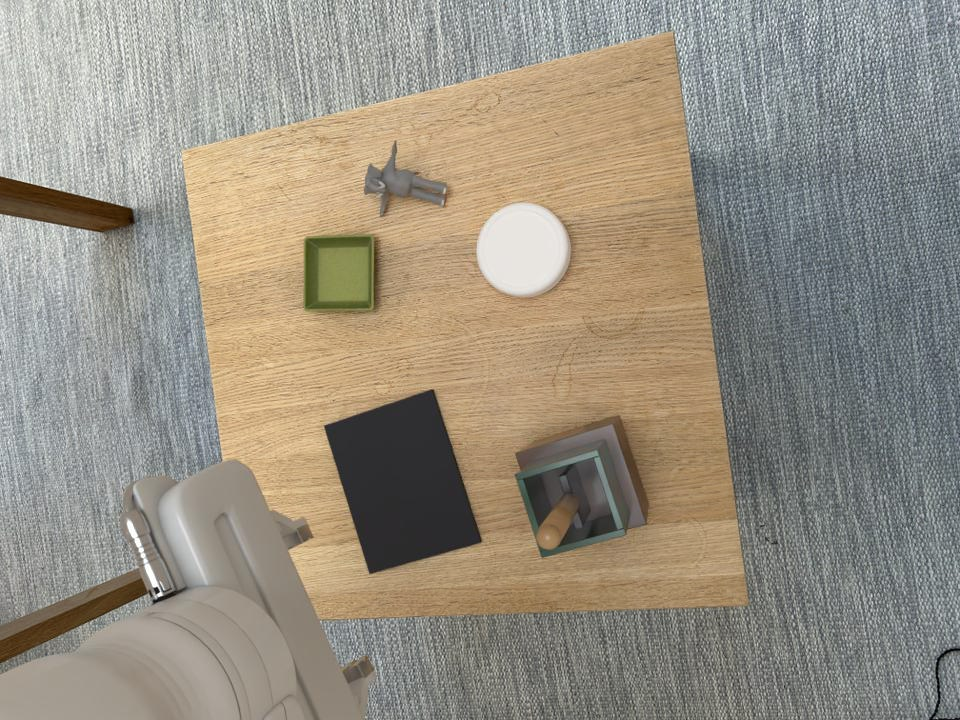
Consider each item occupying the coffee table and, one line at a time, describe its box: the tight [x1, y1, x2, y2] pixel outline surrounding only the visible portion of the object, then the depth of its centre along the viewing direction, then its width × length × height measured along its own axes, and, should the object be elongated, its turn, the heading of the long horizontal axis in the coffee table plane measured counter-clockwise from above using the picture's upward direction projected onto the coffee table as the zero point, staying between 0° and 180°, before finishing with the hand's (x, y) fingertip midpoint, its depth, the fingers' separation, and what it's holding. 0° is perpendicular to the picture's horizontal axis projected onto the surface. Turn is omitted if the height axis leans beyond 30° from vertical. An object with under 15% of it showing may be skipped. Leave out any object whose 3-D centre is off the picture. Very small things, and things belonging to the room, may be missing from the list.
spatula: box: [535, 464, 591, 550], centre depth 64 cm, size 5×2×21 cm, turn 19°
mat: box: [323, 388, 483, 575], centre depth 88 cm, size 18×14×1 cm
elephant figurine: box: [363, 140, 448, 218], centre depth 85 cm, size 10×6×9 cm
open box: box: [514, 414, 650, 559], centre depth 75 cm, size 10×10×18 cm
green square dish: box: [302, 233, 375, 312], centre depth 89 cm, size 9×9×2 cm
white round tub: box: [475, 201, 572, 299], centre depth 83 cm, size 10×10×4 cm
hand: (331, 599), depth 49 cm, fingers open, 8 cm apart
